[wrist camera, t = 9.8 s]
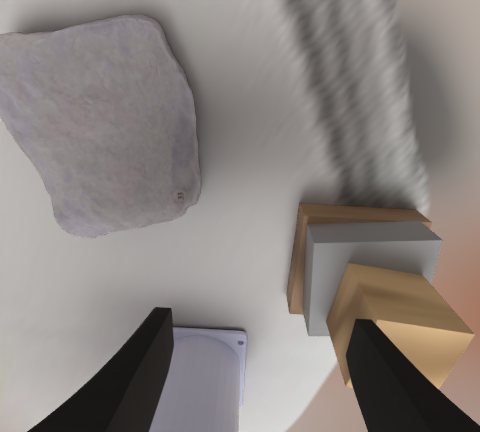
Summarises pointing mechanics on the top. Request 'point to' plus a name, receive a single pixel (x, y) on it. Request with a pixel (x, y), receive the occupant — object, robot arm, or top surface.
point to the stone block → (103, 122)
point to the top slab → (360, 259)
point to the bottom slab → (333, 215)
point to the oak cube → (399, 319)
